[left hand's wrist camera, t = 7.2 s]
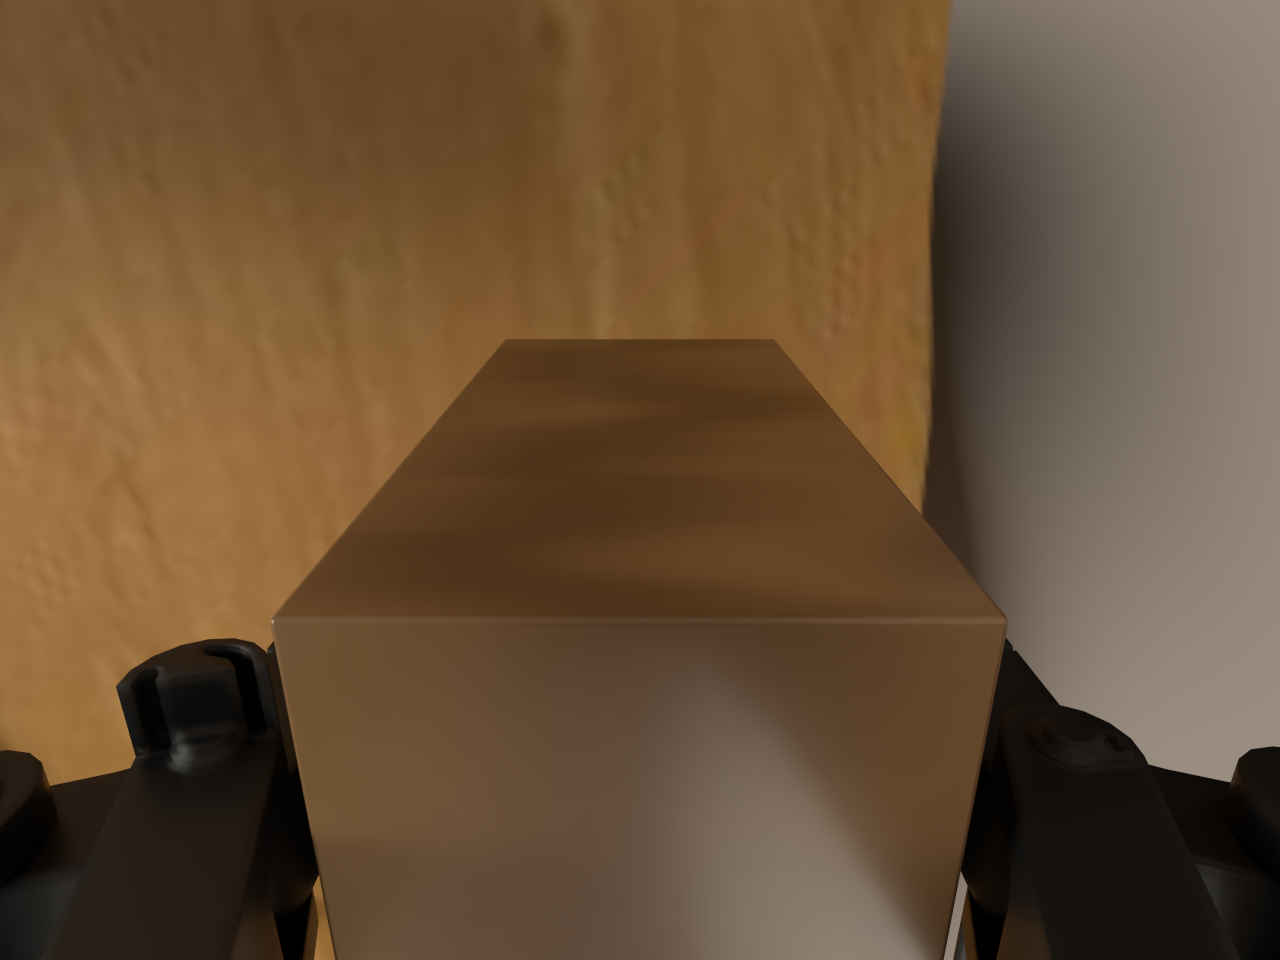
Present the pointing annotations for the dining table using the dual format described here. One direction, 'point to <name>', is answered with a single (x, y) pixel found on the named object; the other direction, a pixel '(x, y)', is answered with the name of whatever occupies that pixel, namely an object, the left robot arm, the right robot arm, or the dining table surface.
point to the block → (639, 676)
